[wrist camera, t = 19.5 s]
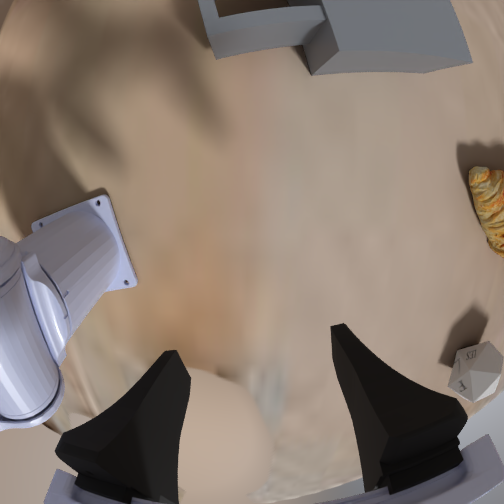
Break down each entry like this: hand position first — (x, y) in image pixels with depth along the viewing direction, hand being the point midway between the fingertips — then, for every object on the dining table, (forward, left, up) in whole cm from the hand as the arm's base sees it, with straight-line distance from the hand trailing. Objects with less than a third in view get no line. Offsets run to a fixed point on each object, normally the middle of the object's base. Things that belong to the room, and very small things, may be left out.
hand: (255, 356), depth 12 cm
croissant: (+30, -1, -11) cm, 32 cm away
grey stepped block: (+9, +18, -10) cm, 23 cm away
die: (+27, -21, -11) cm, 35 cm away
